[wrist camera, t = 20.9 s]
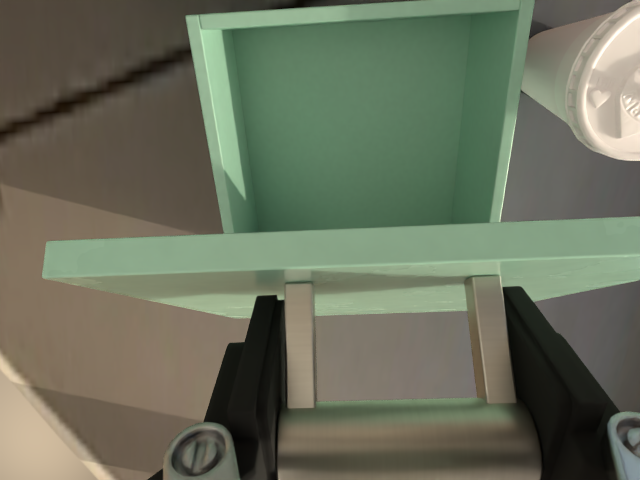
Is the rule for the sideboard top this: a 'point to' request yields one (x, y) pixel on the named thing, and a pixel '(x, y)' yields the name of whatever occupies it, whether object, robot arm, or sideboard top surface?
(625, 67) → the smoothie
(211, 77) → the mint green open crate
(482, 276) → the lid
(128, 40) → the sideboard top surface
